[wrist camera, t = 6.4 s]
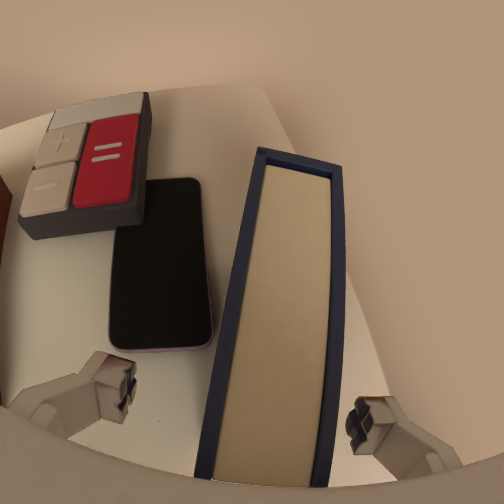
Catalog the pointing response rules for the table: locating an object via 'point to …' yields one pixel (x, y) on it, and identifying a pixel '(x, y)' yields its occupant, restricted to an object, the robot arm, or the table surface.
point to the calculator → (90, 168)
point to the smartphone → (162, 274)
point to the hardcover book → (280, 331)
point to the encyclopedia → (3, 215)
